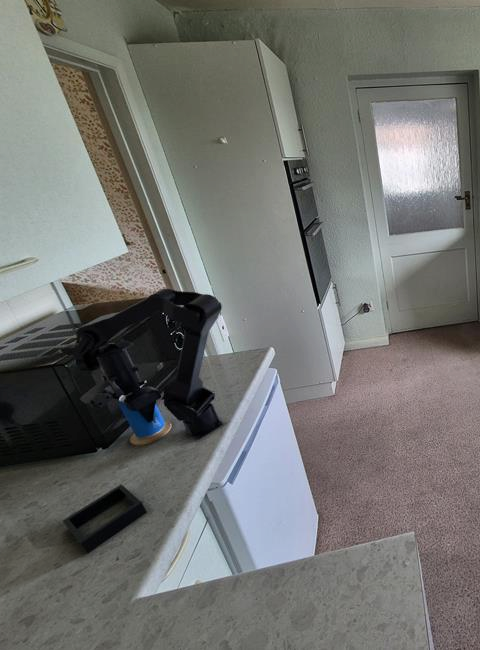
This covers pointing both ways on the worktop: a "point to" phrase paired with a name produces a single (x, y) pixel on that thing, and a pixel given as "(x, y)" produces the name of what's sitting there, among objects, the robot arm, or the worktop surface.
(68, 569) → the worktop surface
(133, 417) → the beverage can
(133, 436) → the coaster
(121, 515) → the black rectangular open frame
